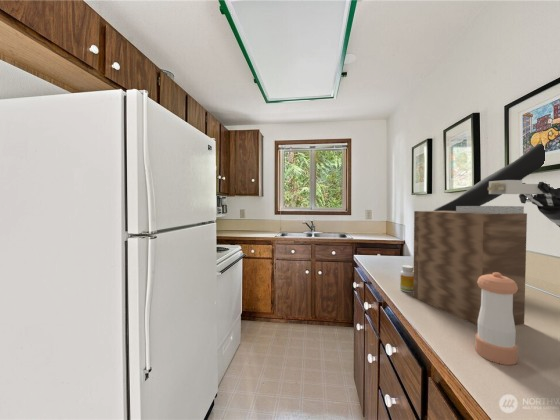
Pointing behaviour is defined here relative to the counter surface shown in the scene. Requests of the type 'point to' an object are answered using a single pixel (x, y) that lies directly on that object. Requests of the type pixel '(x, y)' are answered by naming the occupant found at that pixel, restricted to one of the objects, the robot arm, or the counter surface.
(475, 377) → the counter surface
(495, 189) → the plug
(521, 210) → the socket block
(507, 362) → the pepper shaker
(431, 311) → the counter surface
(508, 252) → the walnut shelf
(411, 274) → the supplement bottle
